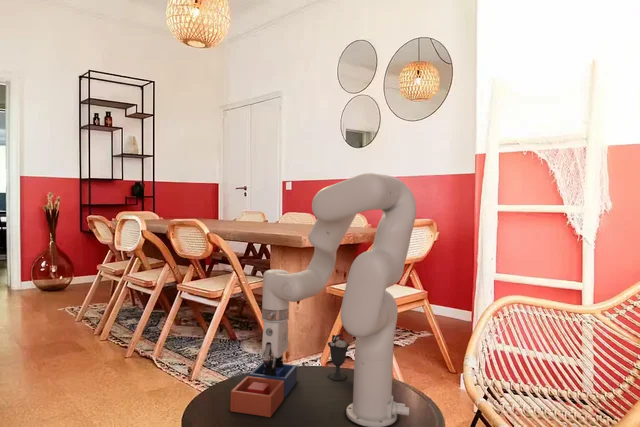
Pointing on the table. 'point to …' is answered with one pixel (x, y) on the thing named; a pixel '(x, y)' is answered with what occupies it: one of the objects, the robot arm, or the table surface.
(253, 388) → the red block
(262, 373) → the blue bin
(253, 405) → the terracotta bin
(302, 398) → the table surface
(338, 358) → the sundae
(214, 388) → the table surface
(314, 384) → the table surface
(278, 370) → the blue block
